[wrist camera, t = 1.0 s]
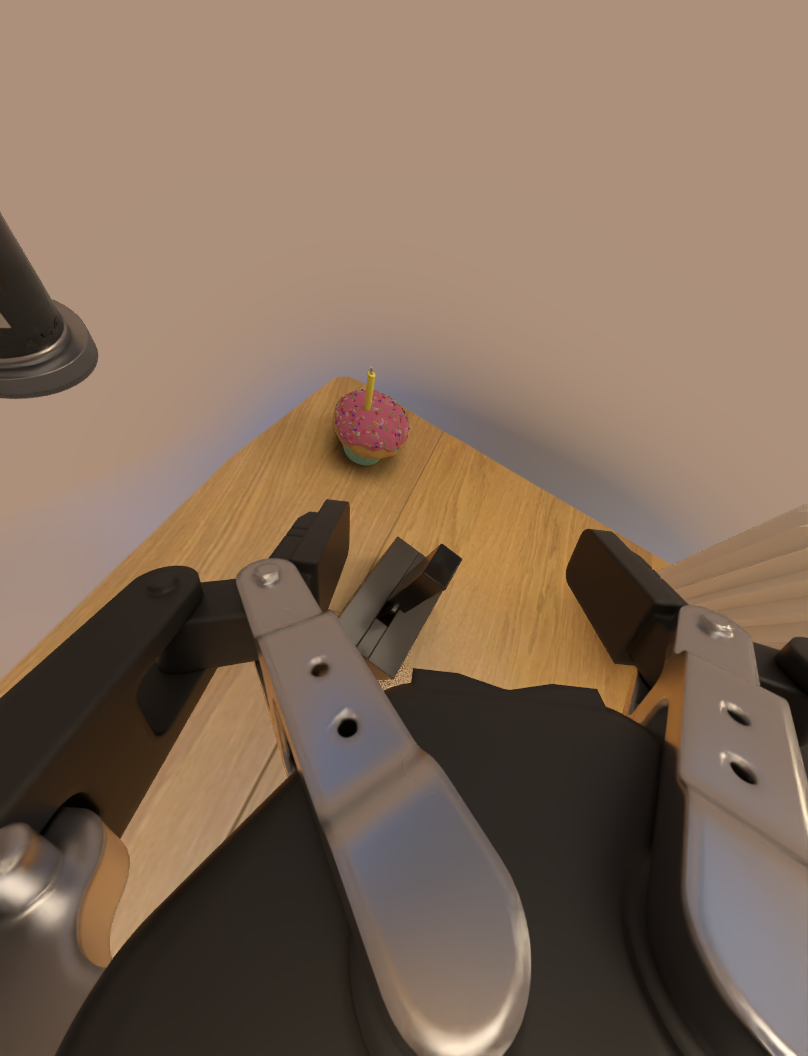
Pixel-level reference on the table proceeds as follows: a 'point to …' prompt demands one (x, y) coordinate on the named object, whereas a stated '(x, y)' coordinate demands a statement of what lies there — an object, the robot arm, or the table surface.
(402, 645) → the knife block
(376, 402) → the cupcake
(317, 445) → the table surface
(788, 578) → the vase
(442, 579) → the knife
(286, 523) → the table surface
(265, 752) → the table surface
